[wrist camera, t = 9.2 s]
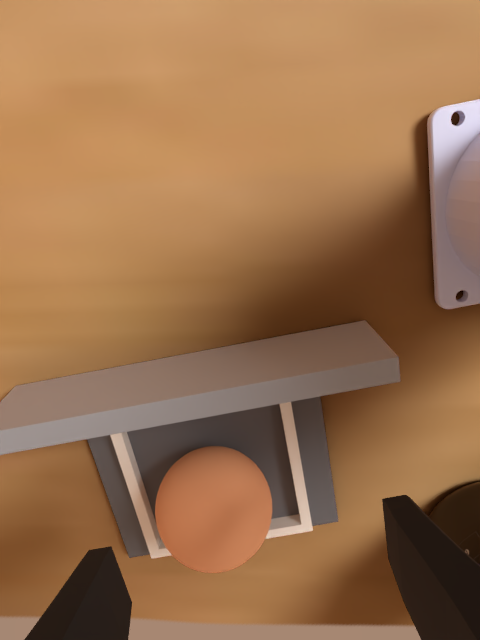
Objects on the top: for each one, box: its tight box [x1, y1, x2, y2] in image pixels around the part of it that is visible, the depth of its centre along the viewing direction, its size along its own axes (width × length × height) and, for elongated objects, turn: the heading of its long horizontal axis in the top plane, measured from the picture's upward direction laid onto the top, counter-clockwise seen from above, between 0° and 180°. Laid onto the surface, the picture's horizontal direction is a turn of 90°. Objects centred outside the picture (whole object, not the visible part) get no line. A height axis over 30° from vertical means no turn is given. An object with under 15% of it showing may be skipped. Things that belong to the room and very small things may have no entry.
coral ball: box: [155, 446, 272, 573], centre depth 19 cm, size 5×5×5 cm
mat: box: [87, 396, 338, 559], centre depth 21 cm, size 11×9×1 cm
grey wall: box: [0, 320, 401, 455], centre depth 18 cm, size 16×1×4 cm, turn 101°
